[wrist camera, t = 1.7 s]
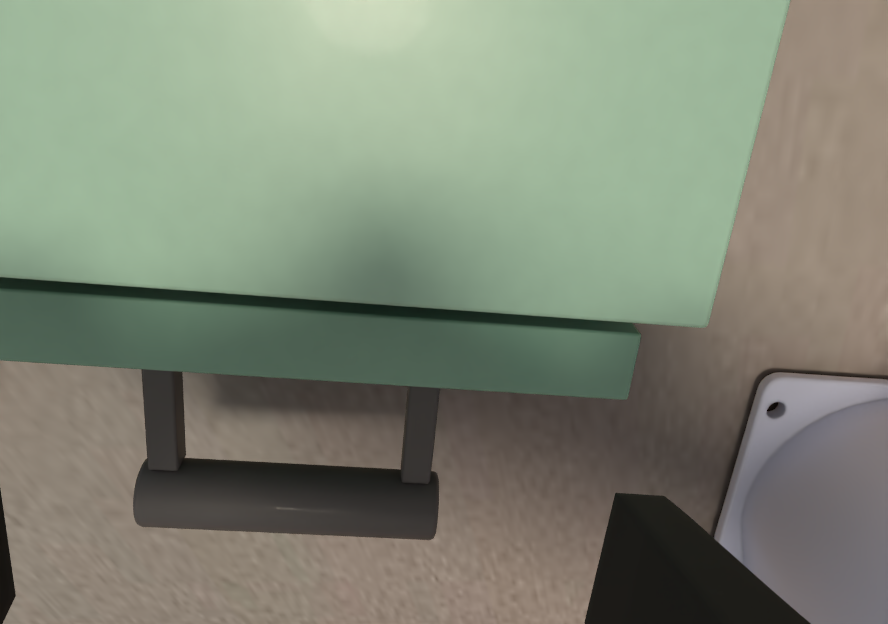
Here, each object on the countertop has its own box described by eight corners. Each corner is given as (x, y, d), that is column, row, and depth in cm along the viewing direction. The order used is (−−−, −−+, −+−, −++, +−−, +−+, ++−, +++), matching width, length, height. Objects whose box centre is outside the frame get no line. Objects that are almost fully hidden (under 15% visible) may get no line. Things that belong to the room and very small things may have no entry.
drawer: (528, 439, 19) (580, 621, 13) (88, 414, 18) (-58, 597, 13) (661, -380, 13) (871, -708, 7) (1, -482, 12) (-380, -953, 6)
